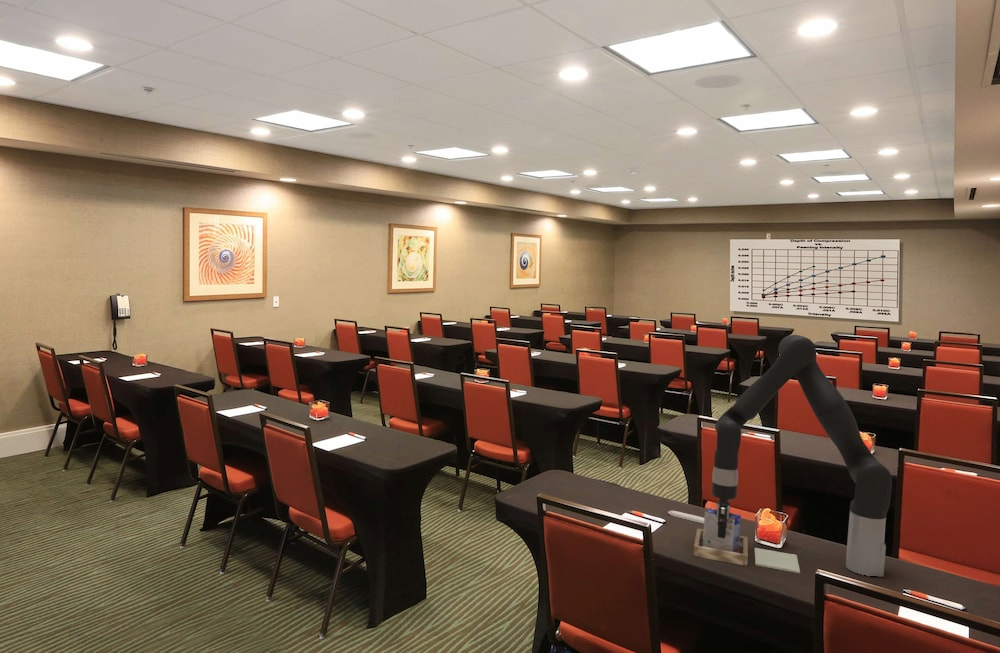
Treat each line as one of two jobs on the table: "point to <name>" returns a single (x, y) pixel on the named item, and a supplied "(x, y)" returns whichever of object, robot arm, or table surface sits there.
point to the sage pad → (776, 560)
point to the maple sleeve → (721, 551)
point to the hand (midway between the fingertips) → (721, 533)
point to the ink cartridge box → (731, 533)
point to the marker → (687, 516)
